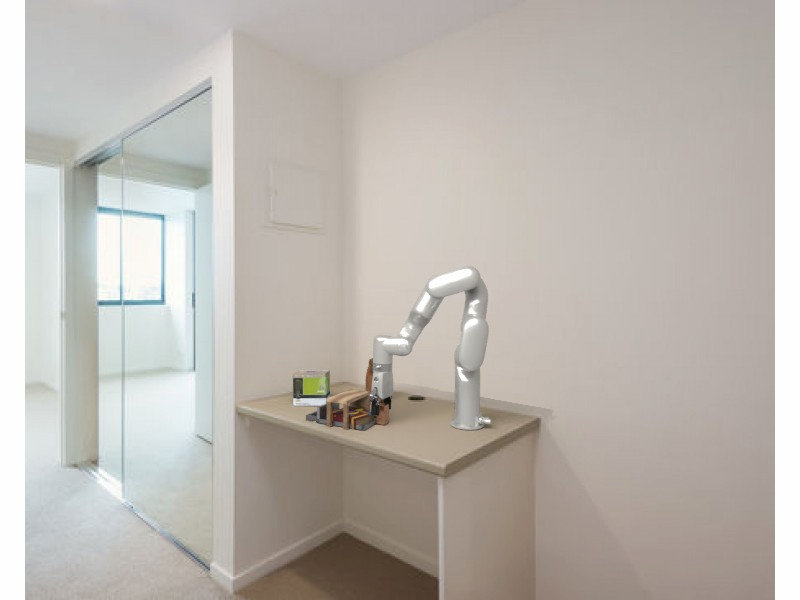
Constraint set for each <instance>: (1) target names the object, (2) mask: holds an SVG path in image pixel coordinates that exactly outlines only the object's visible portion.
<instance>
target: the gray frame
mask: <svg viewBox="0 0 800 600" xmlns="http://www.w3.org/2000/svg"><path fill="white" fill-rule="evenodd" d="M307 420H308V422H313V421H316V422H315V423H317V410H315V411H313V412H311V413H309V414H306V415H305V421H307Z"/></svg>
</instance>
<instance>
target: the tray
mask: <svg viewBox="0 0 800 600" xmlns="http://www.w3.org/2000/svg"><path fill="white" fill-rule="evenodd" d="M340 404H341V403H334V402H332V411H334V410H338V409H340ZM378 405H380V406H379V416H376V415H374V419H373V420H371V421H369V422H367V423H365V424H363V425H357V424H356V429H355V430H360V431H365V430H367V429H369V428H370V427H373V426H374V425H376V424H377V425H381V426H385V425H387V424H388V423H389V421H390V412H389V411H390V410H389V404H384V402H380V404H378ZM316 411H317V422H316V423H318V424H324V425H327V403H326V404H324V405H321V406H316ZM332 426H336V427H341V428H343V422H338V421H332ZM352 428H353V424H350V423H349V429H352Z"/></svg>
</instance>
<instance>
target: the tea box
mask: <svg viewBox="0 0 800 600" xmlns="http://www.w3.org/2000/svg"><path fill="white" fill-rule="evenodd" d="M330 377H331V373H330V369H307V370H306V369H305V370H304V369H303V370H302V369H299V370H297V371H296V372H294V373H292V402H293V403H292V406H293V407H301V406H302V407H305V406H306V407H311V406H314V407H318V406H321V405H324V404H326V403H327V398H329V397H331V379H330Z"/></svg>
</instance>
